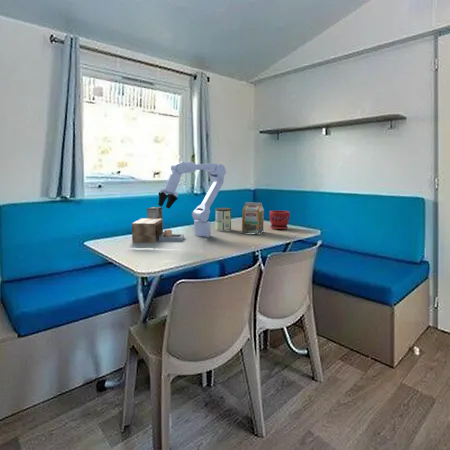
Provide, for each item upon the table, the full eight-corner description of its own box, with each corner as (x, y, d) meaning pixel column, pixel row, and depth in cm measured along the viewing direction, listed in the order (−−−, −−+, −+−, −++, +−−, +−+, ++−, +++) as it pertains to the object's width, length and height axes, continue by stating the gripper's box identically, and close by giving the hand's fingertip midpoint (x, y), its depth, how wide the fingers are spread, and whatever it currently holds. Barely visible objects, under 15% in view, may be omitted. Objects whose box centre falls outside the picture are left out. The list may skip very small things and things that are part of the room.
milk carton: (242, 233, 210) (242, 202, 207) (247, 230, 220) (248, 201, 217) (258, 234, 206) (259, 203, 203) (263, 232, 216) (264, 202, 213)
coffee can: (220, 228, 229) (221, 207, 227) (234, 229, 223) (234, 208, 221) (212, 230, 220) (212, 208, 218) (225, 232, 215) (225, 209, 213)
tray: (184, 239, 191) (184, 234, 190) (181, 243, 182) (181, 237, 182) (163, 239, 192) (162, 233, 191) (159, 242, 183) (158, 237, 182)
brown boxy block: (163, 237, 196) (162, 218, 194) (155, 244, 178) (154, 223, 177) (142, 237, 197) (141, 218, 195) (132, 243, 179) (131, 223, 177)
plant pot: (290, 230, 221) (291, 212, 219) (270, 230, 221) (271, 212, 220) (287, 227, 234) (288, 209, 232) (268, 227, 234) (268, 209, 232)
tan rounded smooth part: (172, 238, 189) (172, 229, 188) (171, 240, 185) (170, 230, 184) (165, 238, 189) (165, 229, 188) (163, 239, 185) (163, 230, 184)
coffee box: (153, 232, 211) (152, 206, 209) (163, 232, 210) (162, 207, 207) (147, 235, 202) (146, 208, 200) (157, 235, 201) (156, 208, 199)
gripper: (159, 179, 187) (150, 202, 186) (174, 181, 177) (165, 206, 176) (169, 184, 192) (161, 207, 191) (184, 187, 182) (175, 210, 180)
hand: (163, 207), depth 184 cm, fingers open, 7 cm apart
